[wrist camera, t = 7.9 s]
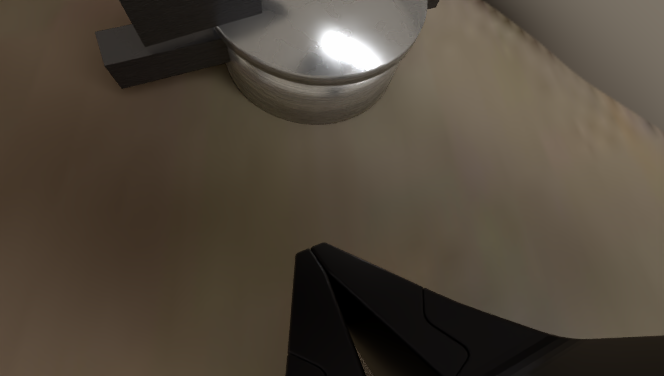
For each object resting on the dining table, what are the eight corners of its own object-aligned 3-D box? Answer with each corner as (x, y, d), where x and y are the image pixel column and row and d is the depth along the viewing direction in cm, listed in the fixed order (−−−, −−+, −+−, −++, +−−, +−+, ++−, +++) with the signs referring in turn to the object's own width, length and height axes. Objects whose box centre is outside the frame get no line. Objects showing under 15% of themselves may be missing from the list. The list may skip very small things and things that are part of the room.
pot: (454, 85, 28) (487, 41, 24) (159, 180, 22) (126, 147, 18) (382, -32, 32) (399, -90, 27) (112, 23, 26) (74, -38, 21)
